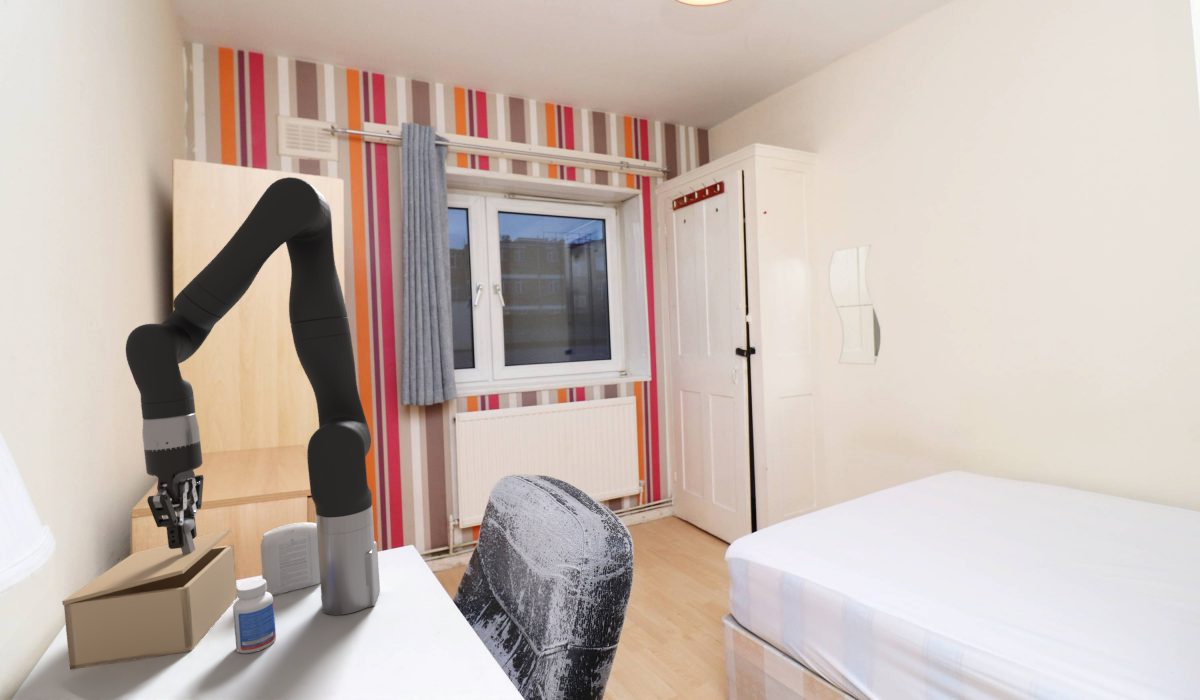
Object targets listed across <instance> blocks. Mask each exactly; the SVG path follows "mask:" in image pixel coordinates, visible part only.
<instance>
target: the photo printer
mask: <svg viewBox="0 0 1200 700" xmlns="http://www.w3.org/2000/svg"><path fill="white" fill-rule="evenodd" d="M260 555H261V557H260V558H261V559H260V560H261V574H262V575H261V576H262V577H261V579H265V580H266V583H267V590H266V592H269V593H271V594H272V596H275V595H276V596H277V595H281V594H283V593H288V592H291V591H296V590H300V589H304V588H308V587H312V586H316V585H318V584H321V583H320V568H319V553H318V538H317V523H316V522H305V521H304V522H294V523H289V524H284V525H281V526H277V527H275V528H272V529H271V530H269V531H267V532H264V533H263V534H262V539H261V542H260Z"/></svg>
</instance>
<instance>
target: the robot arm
mask: <svg viewBox="0 0 1200 700" xmlns="http://www.w3.org/2000/svg"><path fill="white" fill-rule="evenodd" d="M332 220H333V219H332V213H331V206H330V205H329V202H328V200H327V199H326V198H325V196H324V195H323V194H322V193H321V192H320V191H319V190H317V188H316V187H314V185H312V184H311V183H309V182H308V181H306V180H303V178H302V179H301V178H298V177H290V176H289V177H282V178H280V179H277V180H275V181H274V182H273V183H271V184H270V185H269V186H268V187H267V188H266V190H265V191H264V192H263V194H262V195H261V196H260V198H259V199H258V201H257V203H256V204H255V206H254V207H253V209H252V210H251V212H250V213H249V214H248V215H247V217H246V218H245V220H244V221H243V223H242V224H241V225H240V226H239V228H238V229H237V230H236V231H235V233H234V234H233V235H232V237H231V238H230V239H229V240H228V241H227V243H226V244H225V245H224V247H222V249H221V250H220V251H219V252H218V253H217V254H216V255H215V257H214V258H213V259H212V260H211V261H210V262H209V263H208V264H206V266H205V267H204V268H203V269H202V270H200V272H199V273H198V274H196V276H195V277H193V279H192V280H191V281H190V282H189V283H188V284H187V285H186V286H184V288H183V289H181V291H179V292H178V294H177V295H176V297H175V298H174V300H173V303H172V306H173V308H174V309H173V311H172V312H171V313H170V314H169V315H168V316H167V318H166V319H165V320H164V321H163V322H162V323H144V324H141V325H139V326H137V327H136V328H134V329H133V330H132V331H131V332H130V333H129V335H128V337H127V339H126V342H125V357H126V362H127V365H128V367H129V369H130V372H131V375H132V378H133V381H134V382H135V385H136V387H137V389H138V391H139V393H140V407H141V414H142V415H141V416H142V442H143V443H142V445H143V452H144V460H145V469H146V474H147V475H149V476H152V477H153V476H154V477H156V478H157V487H156V490H157V492H156V494H155V495H149V496H148V497H147V505H148V507H149V509H150V511H151V514H152V517H153V519H154V522H155V525H156V527H157V528H166V535H167V544H168V546H169V548H170V549H176V548H182V547H183V546H185V544H186V540H185V531H184V524H183V522H184V518H187V517H188V518H192V519H193V520H194V521H195V522H196V516H197V515H198V510H200V509H202V502H203V490H204V478H205V477H204V475H203V474H200V475H199V474H198V475H197V474H196V475H195V471H194V470H196V469H198V468H200V467H201V466H202V465H203V455H202V446H201V437H200V436H201V435H200V426H199V422H198V419H197V415H196V406H195V405H196V404H195V397H194V395H195V394H194V389H193V387H192V385H191V383H190V382H189V381H187V380H185V379H183V377H182V374H181V369H180V365H179V364H181V363H184V362H185V361H187V360H188V359H190V358H191V357H192V356H193V355H195V354H196V352H197V351H199V349H200V348H201V346H202V345H203V344H204V343H205V340H206V339H207V338H208V336H209V335H210V333H211V332H212V330H213V328H214V326H215V325H216V324H217V323H218V322H219V321H220V320H221V319H223V317H224V316H226V314H227V313H229V311H230V310H231V309H233V307H234V306H236V304H237V303H238V302H239V301H240V300H241V299H242V298H243V296H244V295H245V294H246V293H247V291H248V290H249V288H250V287H251V285H252V284H253V282H254V280H255V279H256V277H257V275H258V274H259V272H260V271H261V269H262V267H263V266H264V265H265V263H266V262H267V260H268V259H269V258H270V257H271V256H272V255H273V253H275V252H276V251H277V250H278V249H279V248H280V247H281V246H282V245H283V244H286V249H287V253H288V256H289V261H290V268H291V275H290V276H291V277H290V288H289V298H288V314H289V315H288V317H289V324H290V328H291V334H292V341H293V344H294V348H295V352H296V355H297V358H298V360H299V362H300V365H301V367H302V369H303V371H304V374H305V375H306V377H307V379H308V380H309V381H308V382H309V383H310V385H311V388H312V389H313V393H314V397H315V402H316V408H317V415H318V428H317V429H316V431H314V433H313V434H312V435H311V436H310V438H309V441H308V445H307V454H306V455H307V456H306V457H307V469H308V470H307V471H308V480H309V489H310V497H311V499H312V502H313V503H314V507H315V523H317V538H318V553H319V568H320V583H319V584H320V593H321V595H320V598H321V599H320V600H321V609H322V611H323V613H326V614H329V615H333V616H337V615H338V616H339V615H348V614H351V613H352V614H353V613H355V612H358V611H363V610H364V609H366V608H369V607H374V606H376V604H377V601H378V598H379V595H380V591H381V587H380V568H379V555H378V553H379V552H378V541H375V531H374V529H375V528H374V516H373V515H374V514H373V513H374V512H373V497H372V496H373V495H372V490H371V489H370V488H369V485H368V484H369V483H368V476H367V475H368V473H367V464H366V457H367V455H368V454H369V451H370V449H371V446H372V438H371V437H372V436H371V431H370V428H369V425H368V422H367V419H366V416H365V411H364V408H363V405H362V401H361V398H360V394H359V393H360V392H359V389H358V384H357V383H358V382H357V374H356V364H355V358H354V356H355V355H354V348H353V342H352V333H351V328H350V324H349V323H350V322H349V317H348V313H347V311H348V310H347V307H346V303H345V299H344V294H343V290H342V286H341V282H340V278H339V275H338V270H337V267H336V260H335V253H334V241H333V227H332V226H333V224H332ZM191 535H192V539H194V538H195V537H198V536H197V523H195V527H194V528H193V529H192V530H191Z"/></svg>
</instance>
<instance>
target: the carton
mask: <svg viewBox="0 0 1200 700" xmlns="http://www.w3.org/2000/svg"><path fill="white" fill-rule="evenodd" d="M234 548H235V545H234V544H229V545H222V546H214V547H213V548H212V549H211V550H210V551H209V552H207V553H206V554H205V555H204V556H203V557H202V558H201V559H199V560H198V561H197V562H196V563H195V564H194V565H192V566H191V567H190V568H189V569H188V570H187V571H186V572H184V573H183V574H180V575H176V576H172V577H168V578H165V579H161V580H157V581H153V582H149V583H146V584H142V585H138V586H134V587H130V588H127V589H123V590H119V591H115V592H111V593H108V594H104V595H100V596H96V597H92V598H89V599H85V600H81V601H77V602H74V603H70V604H66V605H63V609H64V620H65V631H66V632H65V633H66V641H67V653H68V663H69V664H68V665H69V670H76V669H77V670H78V669H83V668H89V667H97V666H102V665H103V666H105V665H109V664H110V665H111V664H115V663H121V662H129V661H135V659H136V660H141V659H142V658H143V659H149V658H155V657H156V658H157V657H161V656H168V655H174V654H181V653H188V652H192V651H193V650H194V649H195V648H196V646H197V645H198V644H199V643H200V642H201V640H202V639H203V638H204V637H205V636H206V635H205V634H207V633H208V632H209V631H210V630H211V629H212V628H213V626H215V624H216V623H217V622H216V621H217V620H218V621H219V620H220V619H221V617H222V616H221V615H222V614H223V615H224V613H225V612H227V610H228V609H229V608H230V606H231V605H233V603H234V602H235V601H236V600H237V599H238V596H237V587H238V585H237V573H236V561H235V560H236V559H235V549H234ZM234 600H235V601H234ZM233 601H234V602H233ZM232 602H233V603H232ZM228 607H229V608H228ZM227 608H228V609H227ZM215 622H216V623H215ZM211 627H212V628H211ZM210 628H211V629H210Z"/></svg>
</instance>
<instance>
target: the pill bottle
mask: <svg viewBox="0 0 1200 700" xmlns="http://www.w3.org/2000/svg"><path fill="white" fill-rule="evenodd" d="M266 590H267V583H266V580H265V579H262V578H255V579H249V580H247V581H244V582H242V583H240V584H239V585H237V599H236V600H235V601H234V602H233V603H234V604H232V605H233V606H232V612H233V613H232V614H233V623H234V626H233V627H234V637H235V646H236V651H237V652H238V653H242V654H251V653H255V652H260V651H261V650H264V649H266V648H268V647H269V646H271V645H272V644H273V643H274V642H275V641H276V638H277V634H276V632H277V631H276V619H275V618H276V617H275V607H274V606H275V605H274V598H273V597H274V596H273V595H272V594H271V593H269V592H266Z"/></svg>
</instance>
